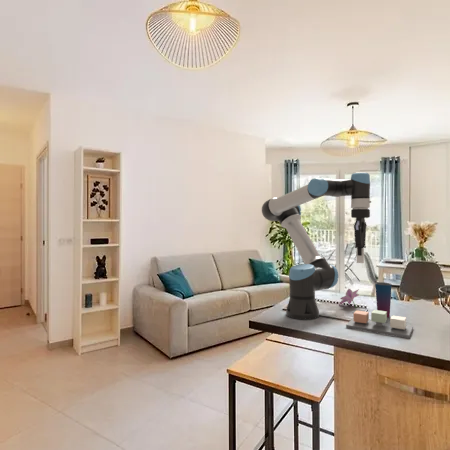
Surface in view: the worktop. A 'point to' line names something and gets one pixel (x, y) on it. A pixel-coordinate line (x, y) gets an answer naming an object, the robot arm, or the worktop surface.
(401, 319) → the cream key
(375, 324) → the board
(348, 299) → the lily
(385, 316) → the sage key
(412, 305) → the worktop surface
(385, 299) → the cup
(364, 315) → the terracotta key
